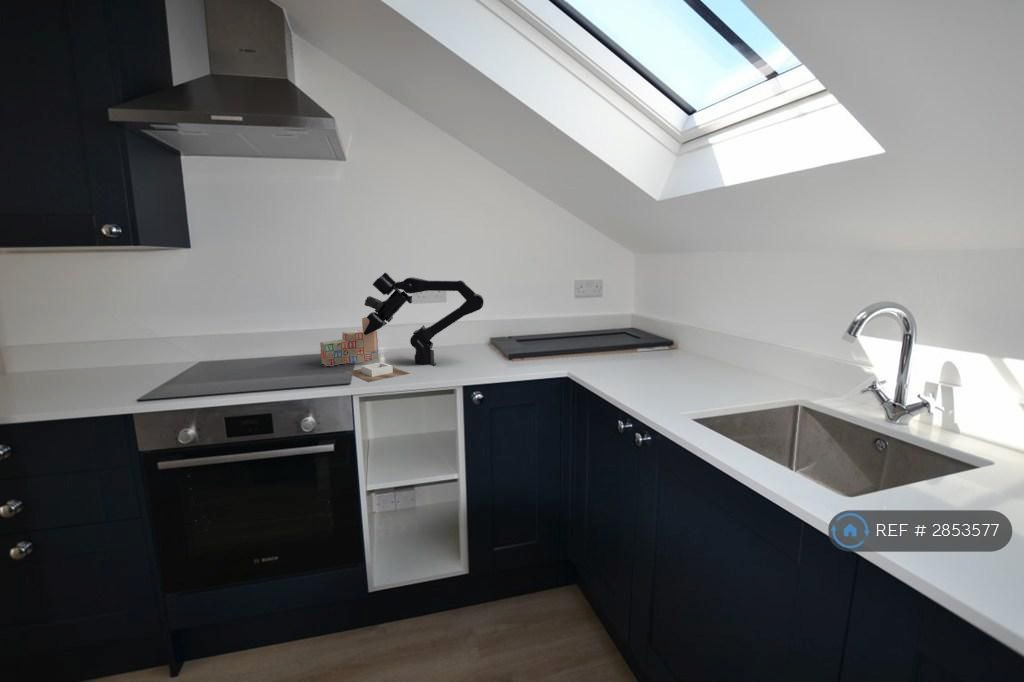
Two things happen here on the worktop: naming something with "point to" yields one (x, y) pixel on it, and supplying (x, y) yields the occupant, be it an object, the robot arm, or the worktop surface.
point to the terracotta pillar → (369, 337)
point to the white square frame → (377, 369)
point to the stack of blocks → (346, 349)
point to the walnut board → (368, 378)
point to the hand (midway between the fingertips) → (366, 333)
